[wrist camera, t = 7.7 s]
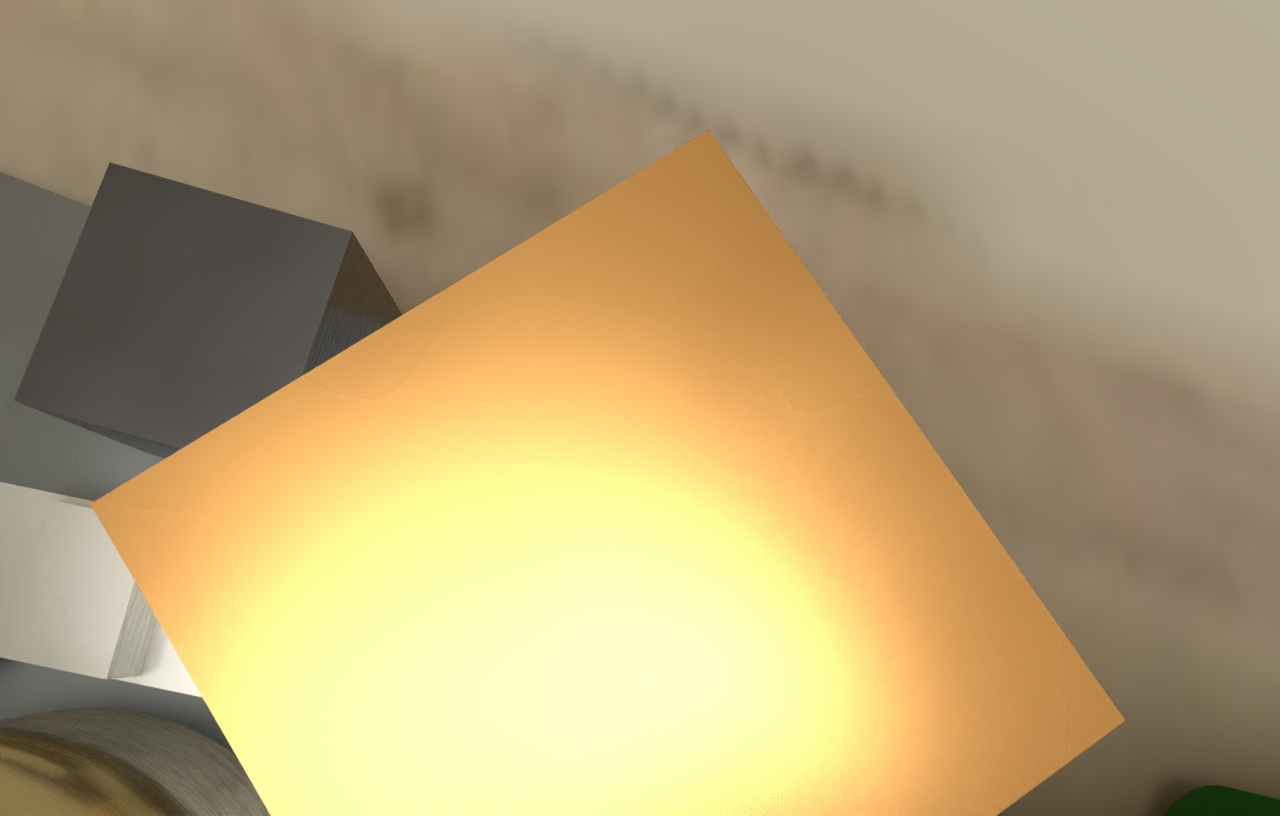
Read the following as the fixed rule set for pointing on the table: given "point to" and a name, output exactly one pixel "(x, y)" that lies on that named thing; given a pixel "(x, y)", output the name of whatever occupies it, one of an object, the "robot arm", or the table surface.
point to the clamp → (1224, 803)
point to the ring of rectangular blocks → (577, 554)
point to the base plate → (146, 434)
